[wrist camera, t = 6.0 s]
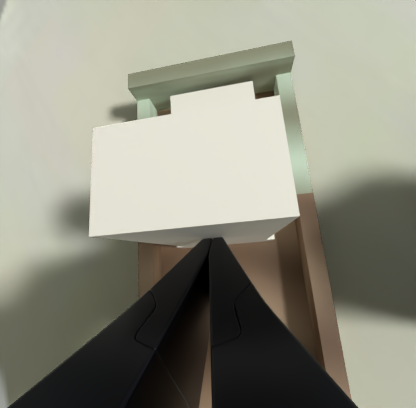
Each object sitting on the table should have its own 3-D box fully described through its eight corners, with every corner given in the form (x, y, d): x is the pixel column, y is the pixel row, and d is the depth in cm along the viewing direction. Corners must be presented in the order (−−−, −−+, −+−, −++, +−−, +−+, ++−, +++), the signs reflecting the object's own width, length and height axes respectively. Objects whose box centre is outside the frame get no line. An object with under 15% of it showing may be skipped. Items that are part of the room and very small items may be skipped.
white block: (271, 240, 15) (324, 213, 5) (185, 248, 16) (70, 238, 6) (252, 99, 18) (259, -125, 7) (178, 112, 19) (88, -72, 8)
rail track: (362, 518, 13) (414, 636, 9) (155, 501, 14) (121, 592, 10) (285, 83, 19) (295, 39, 15) (147, 108, 21) (125, 75, 17)
